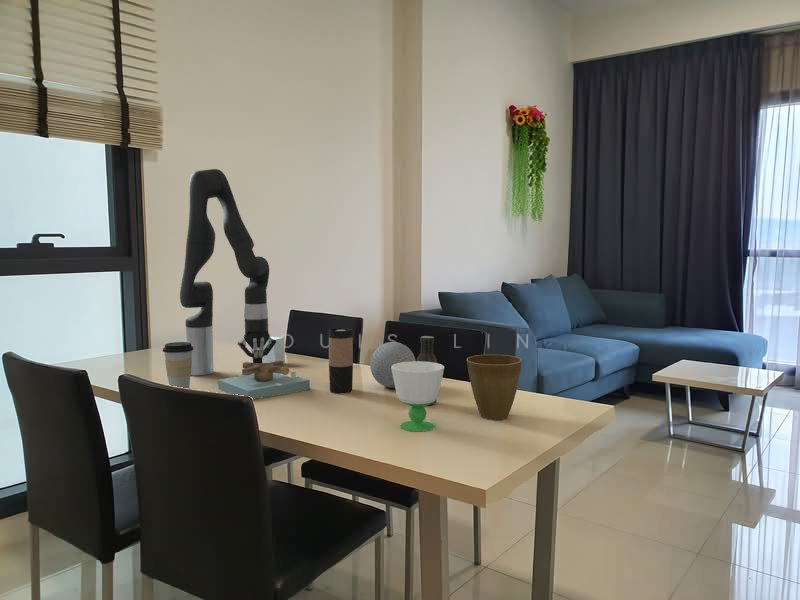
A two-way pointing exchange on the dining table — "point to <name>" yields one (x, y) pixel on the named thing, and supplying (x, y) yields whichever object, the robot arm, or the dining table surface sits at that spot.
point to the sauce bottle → (427, 352)
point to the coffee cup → (178, 363)
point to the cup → (417, 390)
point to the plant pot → (494, 383)
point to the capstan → (264, 370)
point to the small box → (275, 351)
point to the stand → (264, 385)
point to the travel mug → (340, 360)
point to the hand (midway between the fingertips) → (257, 368)
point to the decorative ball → (388, 361)
